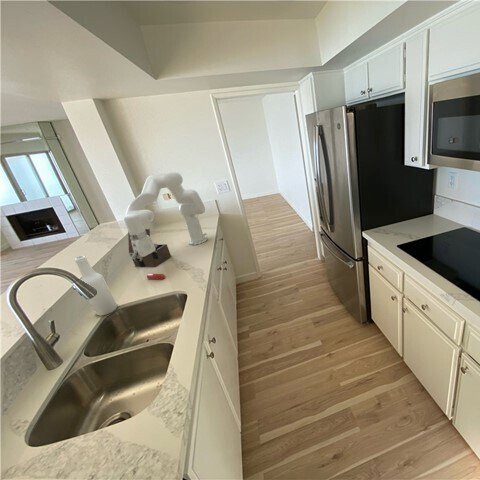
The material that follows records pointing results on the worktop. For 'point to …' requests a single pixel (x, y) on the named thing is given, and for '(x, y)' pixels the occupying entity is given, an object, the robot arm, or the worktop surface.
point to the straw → (155, 276)
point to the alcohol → (97, 288)
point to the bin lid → (131, 240)
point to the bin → (150, 262)
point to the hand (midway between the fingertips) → (149, 262)
